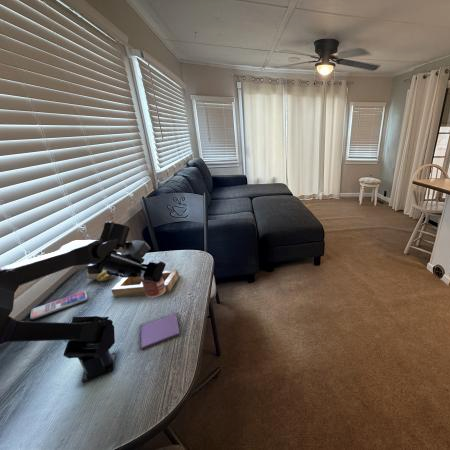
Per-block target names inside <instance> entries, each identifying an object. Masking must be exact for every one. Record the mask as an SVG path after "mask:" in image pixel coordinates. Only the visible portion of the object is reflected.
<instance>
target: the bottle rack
mask: <svg viewBox="0 0 450 450" xmlns="http://www.w3.org/2000/svg"><path fill="white" fill-rule="evenodd" d="M179 278H180V274H179V270H178V269H171V270H170V269H169V270H164V271H163V281H164V285H165V289H166V290H165V292H164V293H163V294H165V293H170V292H171V290H172V289H173V287H174V285H175V284H176V283H177V281H178V280H179ZM136 283H139V284H136ZM110 290H111V293H112V297H113V298H120V297H131V296H133V297H134V296H141V295H146V294H145V291H144V287H143V284H142V280H141V276H138V277H135V278H134V277H128V278H125V277H122V278H121V279H120V280H119V281H118V282H117V283H116V284H115V285H114V286H113V287H112V288H111V289H110Z"/></svg>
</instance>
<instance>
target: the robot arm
mask: <svg viewBox="0 0 450 450" xmlns="http://www.w3.org/2000/svg"><path fill="white" fill-rule="evenodd" d="M130 230H131V228H130V227H129V226H128V225H124V224H121V223H116V222H114V221H105V222H104V224H103V229H102V232H101V234H100V237H99V238H96V239H95V238H92V239H76V240H72V241H70V242H68V243H66V244H64V245H61V247H60V248H59V249H57V250H55V251H52V252H50V253H46V254H42V255H39V256H35V257H32V258H27V259H25V260H21V261H17V262H14V263H11V264H7V265H4V266H0V346H2V345H4V344H8V343H21V342H23V343H24V342H46V341H47V342H49V341H63V342H64V343H66V346H65V348H64V352H63V357H65V358H66V359H78V362H79V363H80V365H81V367H82V369H83V375H82V377H81V384H85V383H88V382H90V381H93V380H94V379H97V378H100V377H102V376H104V375H107V374H109V373H111V372H113V371H114V370H115V366H116V365H115V364H116V355H117V353H116V352H111V353H110V350H111V348H112V347H113V346H114V345H115V343H116V340H115V336H116V335H115V325H114V321H113V320H112V319H109V318H110V317H109V316H98V315H83V316H80V315H79V316H72V318H71V322H58V321H56V322H55V321H54V322H53V321H31V320H30V321H27V320H18V319H15V318H13V317H12V316H10V315H11V314H12V312H13V310H14V305H15V304H14V303H15V293H16V292H17V290H18V289H19V288H20V286H23V285H25V284H28V283H31V282H34V281H37V280H39V279H42V278H45V277H47V276H51V275H52V274H56V273H59V272H61V271H63V270H66V269H69V268H72V267H78V266H84V265H86V266H85V267H86V269H87V273H88V274H100V273H101V272H102V269H103V270H107V271H106V272H107V274H108V275H111V276H113V277H116V278H117V277H118V278H124V277H125V278H128V277H134V278H135V277H138V276H140V275H141V273H142V271H144V272H145V273H144V275H143V278H144V280H145V281H152V282H158V281H160V278H162V277H163V271H165V268H166V263H165V262H164V261H161V260H150V261H149V262H147V263H148V264H146V263H144V262H145V258H144V257H145V256H146V255H147V253H148V252H149V251H150V250H151V246H150V245H149V244H148V243H147V242H146V241H145V240H140V239H139V240H137V239H135V240H131V241H127V240H128V236H129V233H130ZM120 248H121V249H122V251H123V252H120V251H117V250H120ZM144 267H147V268H144Z"/></svg>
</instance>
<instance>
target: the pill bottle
mask: <svg viewBox="0 0 450 450" xmlns="http://www.w3.org/2000/svg"><path fill="white" fill-rule="evenodd" d="M148 263H149V262H146V263H145V264H148ZM144 268H147V267H144ZM144 273H145V272H144V271H142V273H141V275H140V276H141V280H142V284H143V287H144V291H145V294H144V295H145V297H147V298H148V299H149V298H150V299H152V298H157V297H159V296H162V295H163V294H165V293H164V292H165V290H166V289H165V285H164V282H165V280H163V277H162V278H160V281H158V282H152V281H145V280H144V278H143V275H144Z"/></svg>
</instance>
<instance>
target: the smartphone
mask: <svg viewBox="0 0 450 450" xmlns="http://www.w3.org/2000/svg"><path fill="white" fill-rule="evenodd" d="M87 300H88V295H87V291H85V290H83V291H80V292H77V293H74V294H71V295H69V296H65V297H62V298H60V299H57V300H54V301H51V302H48V303H45V304H42V305H38V306H36V307H34V308H32V309H31V310H30V318H29V319H30V320H36V319H39V318H41V317H44V316H47V315H49V314H52V313H55V312H59V311H60V310H64V309H66V308H69V307H71V306H74V305H77V304H81V303H83V302H85V301H87Z"/></svg>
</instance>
